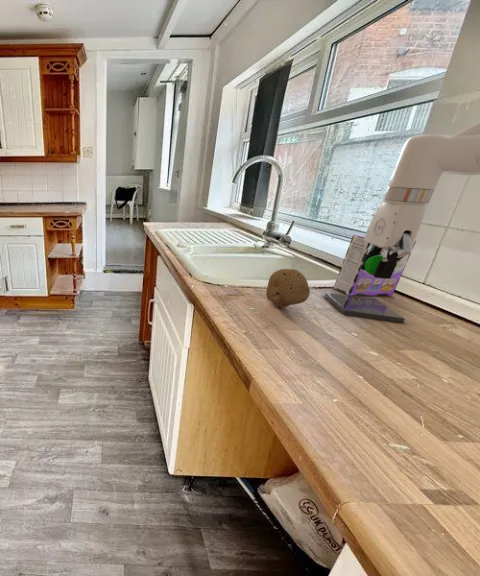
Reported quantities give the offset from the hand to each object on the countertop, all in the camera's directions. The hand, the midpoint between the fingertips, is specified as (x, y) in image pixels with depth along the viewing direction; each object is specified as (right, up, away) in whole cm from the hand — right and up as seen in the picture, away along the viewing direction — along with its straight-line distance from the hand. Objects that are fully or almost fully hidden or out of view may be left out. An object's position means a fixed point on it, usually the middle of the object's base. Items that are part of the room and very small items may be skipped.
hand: (374, 273), depth 75 cm
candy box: (+10, -5, +15) cm, 19 cm away
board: (0, -9, +4) cm, 10 cm away
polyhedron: (0, -1, 0) cm, 1 cm away
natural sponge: (-22, -9, +2) cm, 23 cm away
